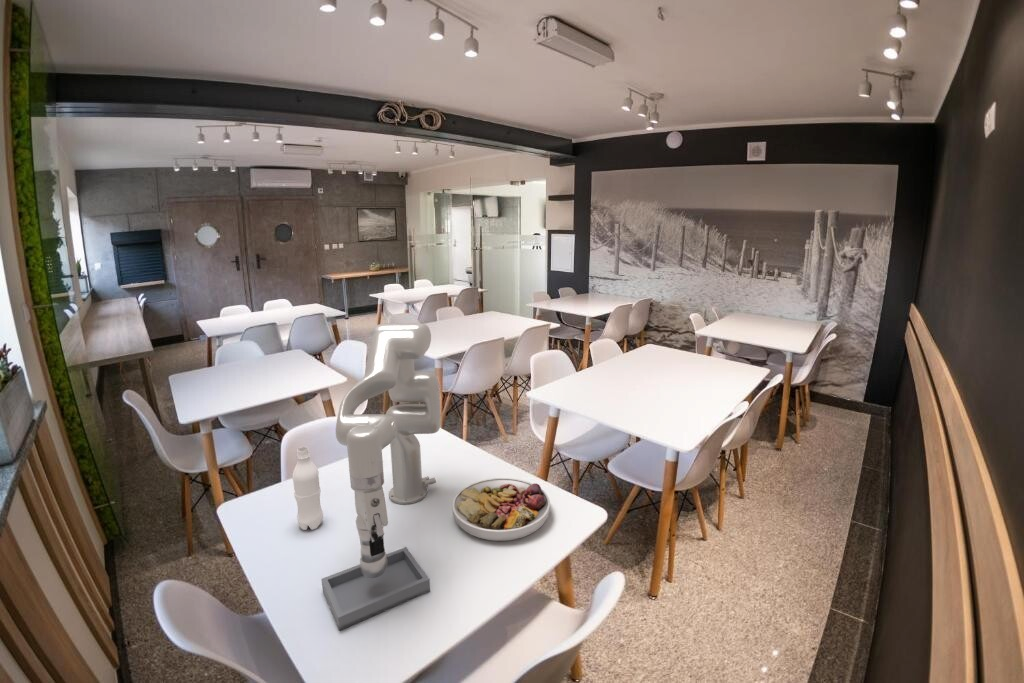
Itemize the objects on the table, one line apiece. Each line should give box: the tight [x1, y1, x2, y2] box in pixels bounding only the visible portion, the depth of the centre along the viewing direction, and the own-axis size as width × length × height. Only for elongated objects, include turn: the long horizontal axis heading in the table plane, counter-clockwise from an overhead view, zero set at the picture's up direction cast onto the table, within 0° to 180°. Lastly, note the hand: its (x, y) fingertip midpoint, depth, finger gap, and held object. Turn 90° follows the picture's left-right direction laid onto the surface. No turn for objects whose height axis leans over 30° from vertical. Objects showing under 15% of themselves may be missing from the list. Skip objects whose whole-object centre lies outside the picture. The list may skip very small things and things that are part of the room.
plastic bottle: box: [355, 514, 388, 578], centre depth 120 cm, size 6×7×20 cm
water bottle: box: [292, 446, 324, 531], centre depth 147 cm, size 7×7×25 cm
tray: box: [321, 546, 431, 632], centre depth 123 cm, size 22×15×4 cm
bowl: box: [451, 477, 551, 542], centre depth 154 cm, size 30×30×8 cm
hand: (372, 545), depth 120 cm, fingers closed on plastic bottle, 6 cm apart
